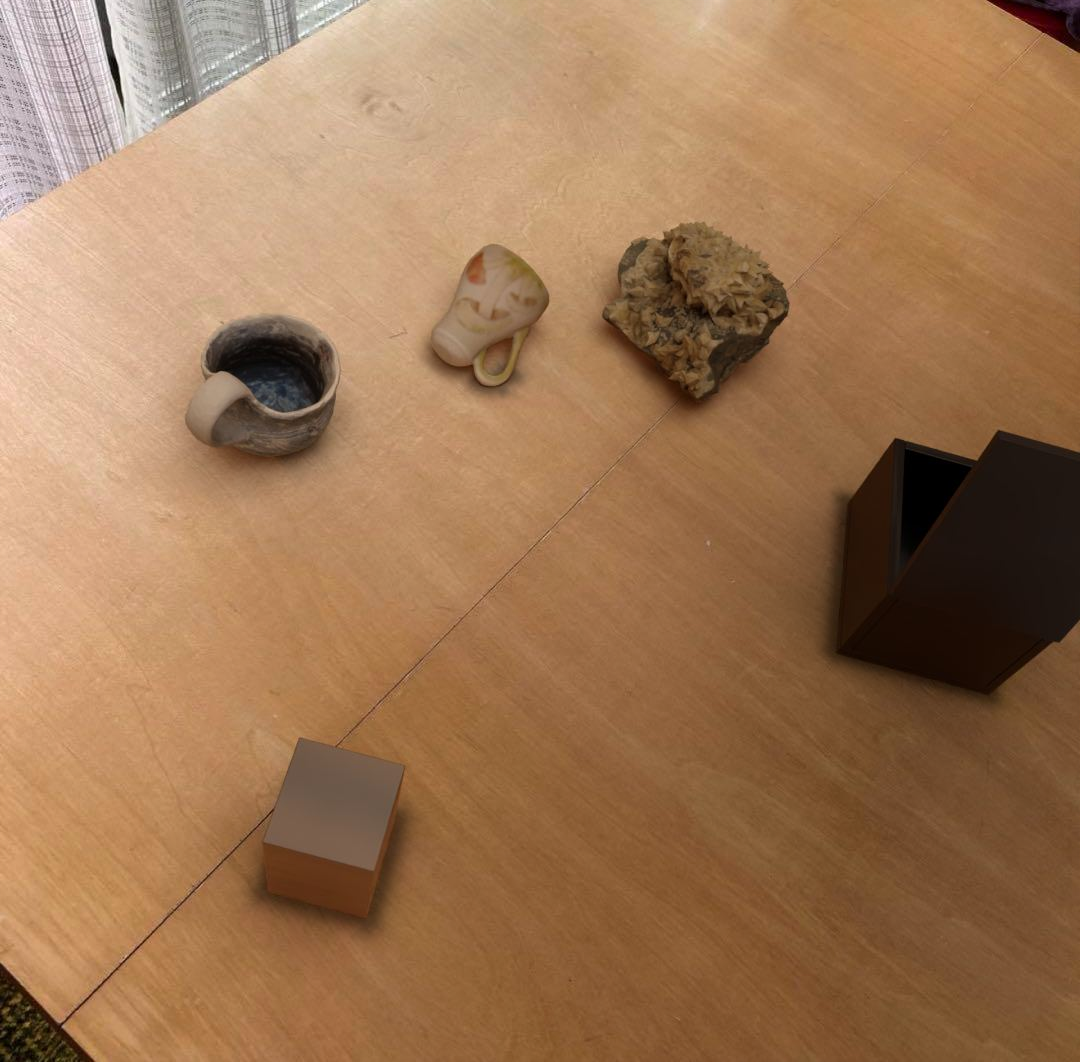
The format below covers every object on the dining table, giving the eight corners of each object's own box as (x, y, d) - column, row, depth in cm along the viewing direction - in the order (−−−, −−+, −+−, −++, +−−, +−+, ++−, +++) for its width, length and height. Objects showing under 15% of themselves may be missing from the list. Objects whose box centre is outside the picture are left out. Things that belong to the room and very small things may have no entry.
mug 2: (400, 355, 91) (429, 232, 87) (477, 344, 99) (508, 230, 95) (470, 395, 88) (504, 270, 84) (544, 380, 96) (579, 265, 91)
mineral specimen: (557, 321, 96) (581, 232, 88) (654, 251, 102) (685, 162, 94) (690, 429, 92) (728, 347, 84) (782, 350, 98) (826, 267, 90)
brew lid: (997, 428, 65) (999, 438, 65) (1192, 483, 66) (1195, 493, 65) (889, 587, 76) (890, 596, 75) (1057, 633, 76) (1059, 643, 76)
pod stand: (366, 918, 68) (374, 871, 60) (267, 892, 68) (262, 842, 60) (394, 822, 72) (405, 765, 63) (300, 797, 71) (299, 736, 63)
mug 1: (360, 403, 88) (366, 313, 80) (284, 529, 81) (281, 445, 73) (244, 356, 88) (237, 262, 80) (159, 477, 82) (142, 388, 73)
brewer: (847, 503, 91) (895, 436, 84) (988, 542, 91) (1047, 479, 84) (836, 653, 83) (887, 595, 76) (989, 695, 84) (1054, 641, 76)
